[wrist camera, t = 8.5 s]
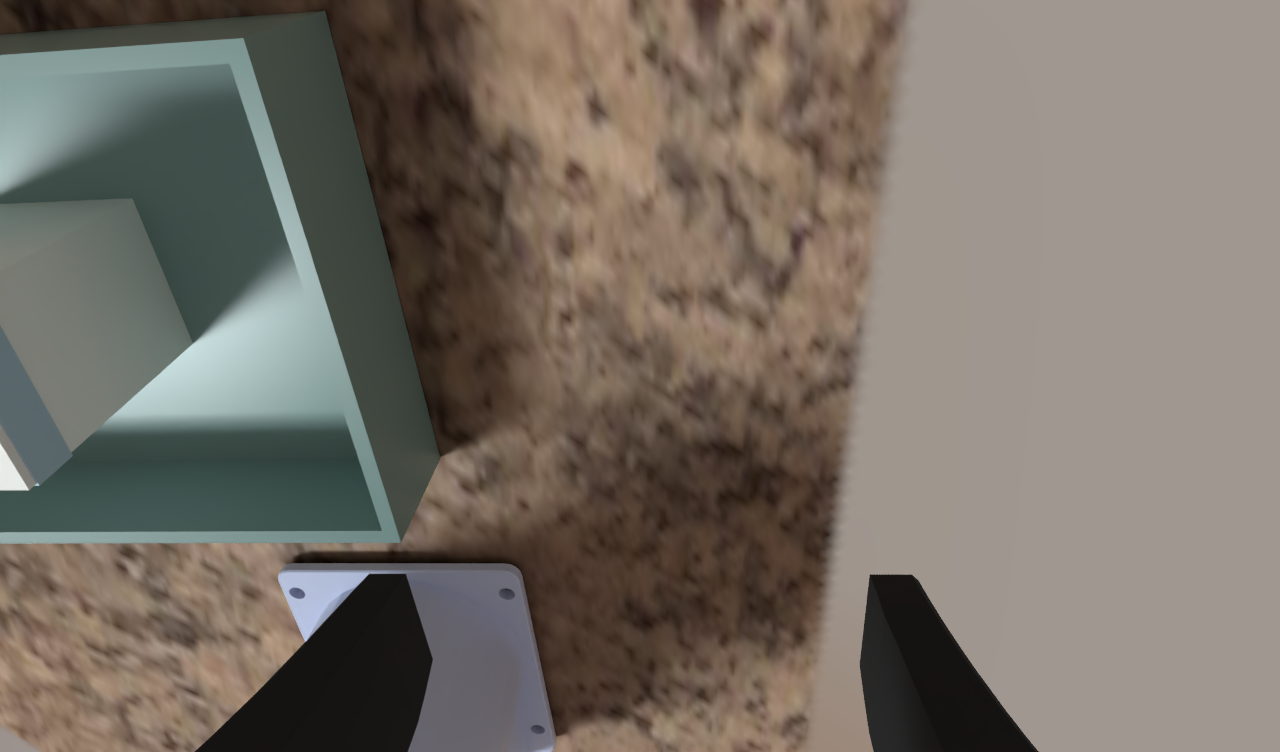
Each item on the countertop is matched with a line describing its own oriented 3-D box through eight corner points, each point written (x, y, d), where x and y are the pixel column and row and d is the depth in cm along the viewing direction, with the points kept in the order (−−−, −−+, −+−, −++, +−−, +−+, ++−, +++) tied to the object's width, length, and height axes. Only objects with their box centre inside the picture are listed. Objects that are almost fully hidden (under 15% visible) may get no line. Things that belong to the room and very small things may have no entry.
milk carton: (195, 345, 21) (32, 492, 16) (53, 348, 21) (-151, 492, 16) (133, 196, 19) (-77, 311, 14) (-24, 203, 19) (-285, 317, 14)
